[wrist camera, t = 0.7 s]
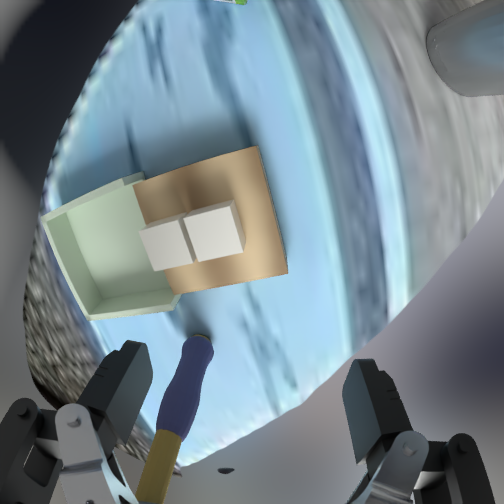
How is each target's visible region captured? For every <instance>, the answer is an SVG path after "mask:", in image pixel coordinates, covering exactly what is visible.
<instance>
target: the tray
mask: <svg viewBox="0 0 504 504" xmlns="http://www.w3.org/2000/svg"><path fill="white" fill-rule="evenodd" d="M144 180H145V177H144V173H143V171H141V172H138V173H135V174H132V175H129V176H126V177H123V178H120V179H118V180H115V181H113V182H111V183H109V184H106V185H104V186H102V187H100V188H97V189H95V190H93V191H91V192H89V193H87V194H85V195H83V196H81V197H78V198H76V199H74V200H72V201H70V202H68V203H66V204H65V205H63V206H61V207H59V208H57V209H55V210H53V211H51V212H49V213H48V214H46V215H44V216H42V217H40V218H41V221H42V223H43V226H44V229H45V231H46V234H47V237H48V239H49V242H50V244H51V247H52V249H53V252H54V254H55V256H56V259H57V261H58V263H59V266H60V268H61V270H62V272H63V274H64V276H65V279H66V281H67V283H68V285H69V287H70V289H71V291H72V293H73V295H74V297H75V299H76V300H77V302H78V304H79V306H80V308H81V310H82V312H83V313H84V315H85V317H86V319H87V321H92V320H102V319H110V318H119V317H127V316H135V315H143V314H151V313H158V312H165V311H172V310H174V308H175V306H176V305H177V303H178V301H179V299H180V297H181V296H182V294H177V295H174V294H173V292H172V289H171V287H170V285H169V282H168V280H167V278H166V275H165V273H164V270H159V271H155V272H154V269H153V267H152V264H151V262H150V260H149V257H148V255H147V252H146V250H145V247H144V244H143V242H142V239H141V237H140V234H139V231H140V230H141V229H142V228H144V227H145V226H146V224H145V221H144V218H143V216H142V213H141V210H140V207H139V204H138V201H137V198H136V195H135V192H134V189H133V186H132V185H134V184H137V183H139V182H142V181H144Z"/></svg>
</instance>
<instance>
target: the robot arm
mask: <svg viewBox="0 0 504 504" xmlns="http://www.w3.org/2000/svg"><path fill="white" fill-rule="evenodd" d="M427 50H428V54H429V57H430V60H431V62H432V65H433V66H434V68H435V70H436V72H437V73H438V75H439V76H440V77H441V79H442V80H443V81H444V82H445V83H446V84H447V85H448V86H449V87H450V88H451V89H452V90H454V91H455V92H457V93H458V94H460V95H463V96H466V97H477V96H490V95H492V96H493V95H504V0H484V1H481V2H479V3H477V4H475V5H473V6H471V7H469V8H467V9H465V10H463V11H461V12H459V13H457V14H456V15H454V16H452V17H450V18H448V19H446V20H444V21H443V22H441V23H439V24H437V25H436V26H434V27H433V28H432V29H431V30H430V31H429V33H428V35H427ZM152 378H153V370H152V365H151V361H150V357H149V353H148V348H147V345H146V344H145V343H141V342H136V341H131V340H127V341H126V342H125V343H124V344H123V346H122V348H121V349H120V351H117V350H114V351H112V352H111V353H110V354H108V355H107V356H106V357H105V358H104V359H103V361H102V362H101V364H100V365H99V368H97V370H96V372H95V373H94V375H93V376H92V378H91V379H90V381H89V383H88V384H87V386H86V388H85V389H84V391H83V392H82V394H81V396H80V397H79V399H78V401H77V402H76V403H75V404H68V405H65V406H63V407H62V408H60V409H59V411H54V410H45V409H39V408H38V406H37V405H36V403H35V402H34V401H33V400H31V399H29V398H21V399H18V400H16V401H15V402H14V403H13V404H12V405H11V407H10V408H9V410H8V412H7V413H6V415H5V417H4V418H3V420H2V422H1V424H0V504H49V503H50V500H51V497H52V494H53V491H54V488H55V486H56V483H57V480H58V478H59V476H60V481H61V485H62V488H63V492H64V495H65V498H66V501H67V504H139V502H138V501H137V499H136V498H135V496H134V495H133V493H132V492H131V490H130V488H129V486H128V484H127V482H126V479H125V477H124V475H123V473H122V470H121V468H120V465H119V463H118V460H117V458H116V455H115V452H114V450H113V449H114V447H115V444H116V443H118V444H121V445H124V446H126V444H127V441H128V439H129V436H130V434H131V431H132V429H133V426H134V424H135V421H136V419H137V416H138V414H139V412H140V409H141V407H142V404H143V402H144V400H145V397H146V395H147V393H148V390H149V388H150V386H151V383H152ZM342 397H343V402H344V406H345V411H346V415H347V420H348V425H349V429H350V434H351V439H352V443H353V449H354V454H355V458H356V464H357V465H362V464H367V469H368V470H367V471H366V472H365V474H364V476H363V477H362V479H361V480H360V482H359V484H358V485H357V487H356V488H355V490H354V491H353V493H352V494H351V496H350V497H349V499H348V500H347V502H346V503H345V504H413V500H411V499H410V497H411V494H412V492H413V493H414V499H415V504H495V501H494V497H493V493H492V489H491V486H490V482H489V479H488V476H487V473H486V470H485V467H484V464H483V461H482V458H481V456H480V453H479V450H478V447H477V445H476V442H475V441H474V439H473V438H472V437H471V436H469V435H467V434H464V433H459V434H456V435H454V436H453V437H452V438H451V439H450V440H449V441H448V442H439V441H438V442H437V441H427V439H426V438H425V437H424V436H423V435H422V434H421V433H419V432H416V431H414V430H413V429H412V426H411V424H410V421H409V418H408V416H407V413H406V411H405V409H404V406H403V403H402V401H401V399H400V396H399V393H398V391H397V389H396V386H395V384H394V382H393V379H392V378H391V377H390V376H389V375H388V374H387V373H386V372H385V371H379V370H378V368H377V365H376V363H375V361H374V360H373V359H355V360H354V361H353V362H352V365H351V367H350V370H349V373H348V375H347V378H346V380H345V383H344V385H343V391H342ZM32 446H33V448H32ZM31 448H32V451H31V453H30V455H29V457H28V459H27V461H26V458H27V456H28V454H29V452H30V450H31ZM25 461H26V464H25V466H24V463H25ZM63 465H64V469H62V467H63ZM23 467H24V468H23Z"/></svg>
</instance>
